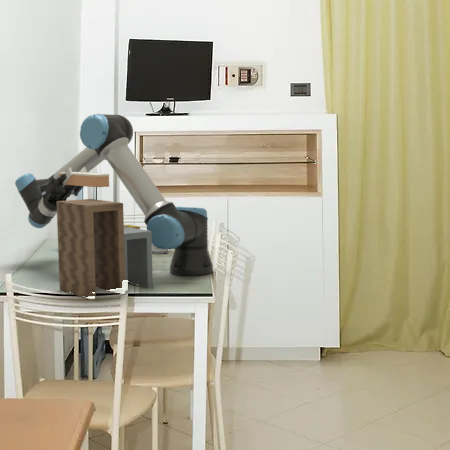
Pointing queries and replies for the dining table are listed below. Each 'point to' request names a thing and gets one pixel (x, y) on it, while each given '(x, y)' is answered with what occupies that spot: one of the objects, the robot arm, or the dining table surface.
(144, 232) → the grey bench
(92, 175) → the slim box
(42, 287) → the dining table surface
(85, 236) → the walnut stand
